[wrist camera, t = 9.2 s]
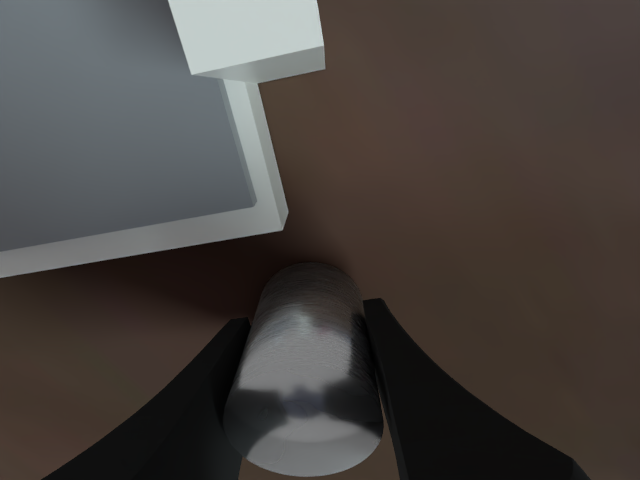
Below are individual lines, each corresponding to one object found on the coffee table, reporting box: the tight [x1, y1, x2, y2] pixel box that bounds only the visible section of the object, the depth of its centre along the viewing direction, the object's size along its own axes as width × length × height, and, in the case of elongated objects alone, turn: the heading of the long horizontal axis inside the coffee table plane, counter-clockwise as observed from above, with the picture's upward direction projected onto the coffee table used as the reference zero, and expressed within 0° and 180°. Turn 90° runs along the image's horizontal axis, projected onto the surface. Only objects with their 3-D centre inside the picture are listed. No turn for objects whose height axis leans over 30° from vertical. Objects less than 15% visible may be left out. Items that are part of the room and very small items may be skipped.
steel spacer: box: [223, 262, 384, 477], centre depth 10 cm, size 4×4×5 cm
